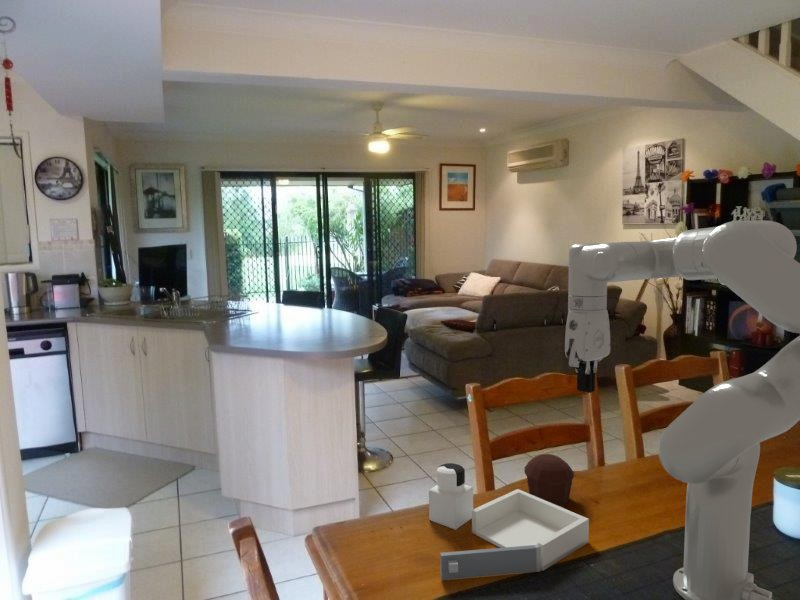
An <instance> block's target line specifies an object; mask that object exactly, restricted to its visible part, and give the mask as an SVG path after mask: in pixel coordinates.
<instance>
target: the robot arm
mask: <svg viewBox="0 0 800 600" xmlns="http://www.w3.org/2000/svg"><path fill="white" fill-rule="evenodd" d="M796 240H797V239H796V237H795V236H794V234H793V232H792V231H791V230H790V229H789V228H788V227H787V226H786V225H783V224H781V223H779V222H776V221H774V220H773V221H772V220H762V219H761V220H734V221H728V222H725V223H723V224H721V225H718V226H712V227H711V226H710V227H704V228H694V229H689V230H683V231H682V232H680V233H679V234H678V235H677V236H676V237H670V238H669V237H668V238H663V239H656V240H655V239H654V240H653V239H652V240H643V241H618V242H605V243H596V242H595V243H594V242H591V243H590V242H588V243H587V242H585V243H574V244H572V245H571V246H570V247H569V249H568V283H567V284H568V288H567V289H568V296H567V297H568V298H567V301H568V302H567V310H568V311H567V317H566V325H565V334H564V336H565V337H564V352H565V353H564V354H565V357H566V358H567V359H568V366H569V367H574V368H575V372H576V390H577V391H579V392H583V393H587V394H590V393H593V392H595V390H596V373H597V371H598V364H599V362H601V361H602V360H603V359H604V358H606V357H607V356H609V355H610V353H611V330H610V328H611V327H610V325H611V324H610V318H609V312H608V310H607V306H608V305H607V303H608V302H607V301H608V298H607V297H608V283H614V282H615V283H618V282H627V281H629V282H630V281H639V280H640V281H641V280H651V279H666V278H668V279H669V278H683V279H684V280H686V281H698V280H714V279H717V280H719V281H720V282H722V284H724V285H725V286H726V287H727V288H728V289H729V290H731V291H732V292H733V293H735V295H737V296H738V297H740V298H741V300H743V301H744V302H745V303H746V304H747V305H749V306H750V307H751V308H753V309H754V310H755V311H756V312H758V313H759V314H760V315H761V316H762V317H763V318H765V319H766V320H767V321H769V322H770V323H772V324H773V325H775V326H777V327H778V328H780V329H782V330H785V331H786V332H791V333H794V334H800V262H798V261H797V260H795V256H796V254H797V241H796ZM799 421H800V335H798V336H797V337H796V338H794V339H793V340H791V341H790V342H789V343H788V344H786V345H785V346H783V347H782V348H781V349H780V350H779V351H778V352H777V353H776V354H775V355H774V356H773V357H771V359H769V360H768V361H767V362H766V363H765V364H763V365H762V366H760V368H758V369H756V370H755V371H754V372H752V373H748V374H745V375H743V376H739V377H736V378H731V379H729V380H725V381H722V382H720V383H718V384H715V385H714V386H712V387H711V388H709V389H708V390H706V391H705V392H704V393H702V394H701V395H700V396H699V397H697V399H696V400H694V401H693V402H692V403H691V404H690V405H689V406H688V407H687V408H686V409H684V411H683V412H681V414H680V415H678V416H677V417H676V418H675V419H674V420H673V421H672V422H670V423H669V425H668V426H667V427H666V428H665V429H664V430H663V432H662V434H661V436H660V438H659V440H658V445H657V453H658V457H659V461H660V464H661V466H662V467H663V469H664V470H665V472H666V473H668V474H669V475H670V476H671V477H673V478H674V479H676V480H678V481H680V482H682V483H686V484H687V486H686V495H685V496H686V498H685V520H684V547H683V549H684V551H683V567H680V568H678V569H677V570H676V571H675V572H674V573H673V578H672V582H673V587H674V590H675V591H676V592H677V593H678V594H679V595H680V597H682V598H683V599H684V600H774V599H772V598H773V592H772V591H770V590H767V589H765V588H761V587H760V586H757V584H756V583H754V577H755V574H753V573H751V572H749V571H748V569H749V551H750V549H749V548H750V532H751V513H752V502H753V501H752V500H753V490H754V489H753V488H754V483H755V476H756V472H757V469H758V464H759V460H760V453H761V443H762V442H765V441H766V440H769V439H772V438H775V437H776V436H779V435H782V434H784V433H785V432H788V431H789V430H791V428H792V427H794V426H795V425H796V424H797V423H799Z"/></svg>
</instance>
